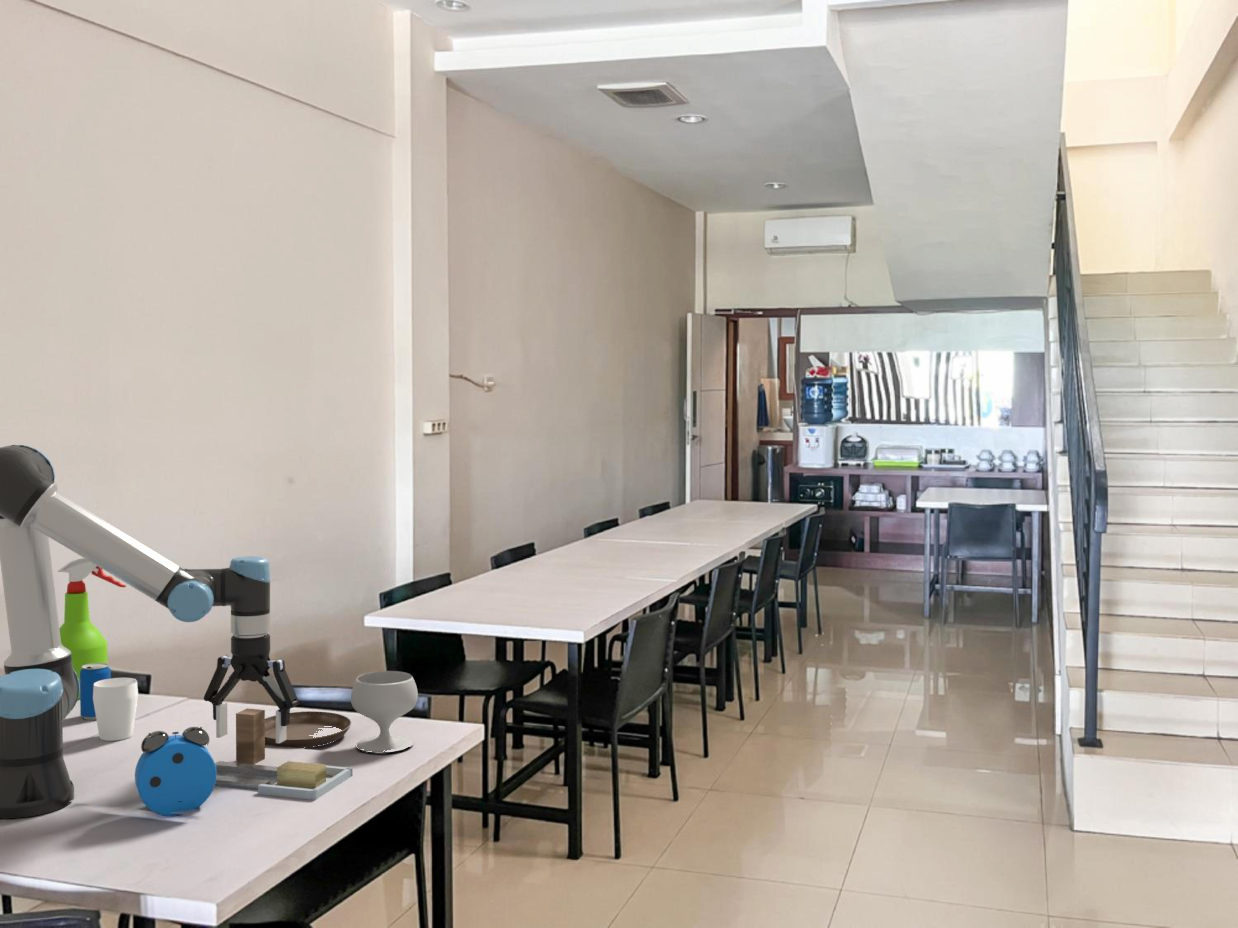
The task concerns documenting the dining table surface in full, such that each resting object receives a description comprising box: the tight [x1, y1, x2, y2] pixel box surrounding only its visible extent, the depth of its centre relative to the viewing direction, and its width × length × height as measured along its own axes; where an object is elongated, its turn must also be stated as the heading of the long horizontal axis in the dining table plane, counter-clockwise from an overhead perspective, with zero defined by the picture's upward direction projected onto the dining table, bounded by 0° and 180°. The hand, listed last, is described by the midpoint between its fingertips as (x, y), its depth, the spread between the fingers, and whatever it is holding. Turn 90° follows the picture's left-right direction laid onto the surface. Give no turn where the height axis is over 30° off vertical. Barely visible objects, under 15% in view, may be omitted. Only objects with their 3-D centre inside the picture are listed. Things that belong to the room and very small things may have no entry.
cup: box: [93, 677, 139, 742], centre depth 248 cm, size 9×9×12 cm
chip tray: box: [257, 765, 353, 801], centre depth 216 cm, size 14×12×2 cm
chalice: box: [350, 670, 419, 752], centre depth 243 cm, size 14×14×15 cm
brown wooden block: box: [235, 708, 266, 765], centre depth 229 cm, size 4×4×11 cm
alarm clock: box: [134, 726, 217, 817], centre depth 203 cm, size 13×6×15 cm, turn 118°
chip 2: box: [296, 762, 327, 789], centre depth 215 cm, size 4×4×4 cm
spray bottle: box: [57, 556, 127, 701], centre depth 284 cm, size 14×18×35 cm
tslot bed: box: [214, 760, 278, 791], centre depth 219 cm, size 10×16×2 cm, turn 75°
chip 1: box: [276, 760, 307, 788], centre depth 216 cm, size 4×4×4 cm
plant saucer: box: [265, 710, 352, 749], centre depth 249 cm, size 21×21×3 cm
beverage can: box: [79, 663, 112, 721], centre depth 263 cm, size 6×6×12 cm
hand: (251, 738), depth 230 cm, fingers open, 13 cm apart
